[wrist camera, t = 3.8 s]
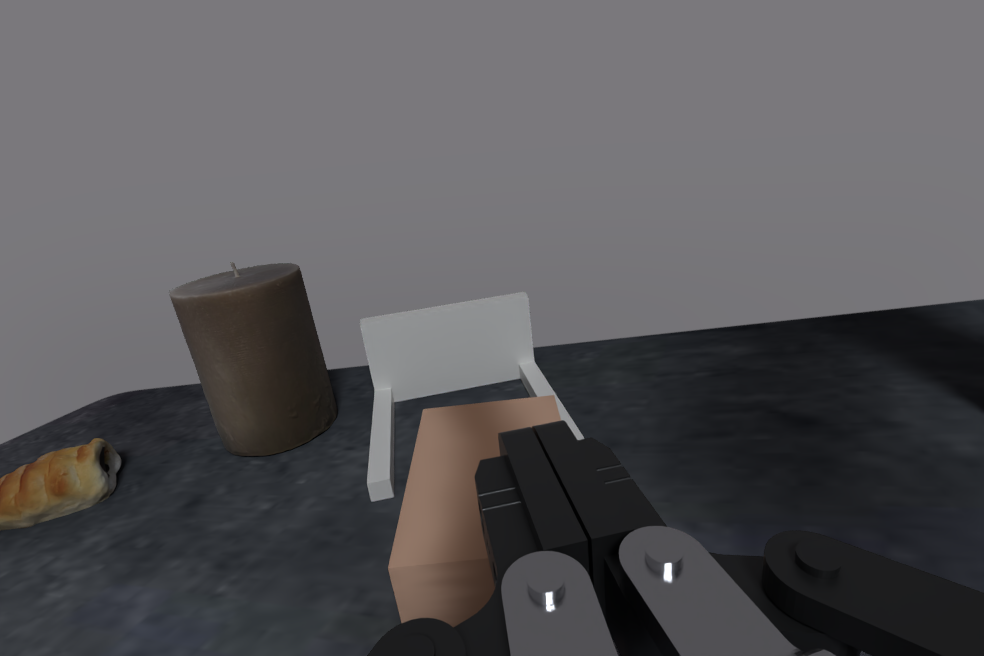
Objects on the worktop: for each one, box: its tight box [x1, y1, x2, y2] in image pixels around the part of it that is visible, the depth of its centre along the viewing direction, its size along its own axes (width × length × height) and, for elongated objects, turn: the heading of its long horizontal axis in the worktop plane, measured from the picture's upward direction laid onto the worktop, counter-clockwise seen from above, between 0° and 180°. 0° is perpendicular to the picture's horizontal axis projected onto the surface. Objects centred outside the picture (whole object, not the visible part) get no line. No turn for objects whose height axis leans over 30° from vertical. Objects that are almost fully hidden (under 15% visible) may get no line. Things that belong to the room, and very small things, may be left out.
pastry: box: [0, 438, 121, 530], centre depth 37 cm, size 9×7×4 cm
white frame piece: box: [360, 292, 584, 502], centre depth 40 cm, size 15×15×8 cm
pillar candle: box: [169, 262, 337, 456], centre depth 42 cm, size 10×10×15 cm
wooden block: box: [388, 395, 561, 627], centre depth 26 cm, size 8×12×7 cm, turn 1°
